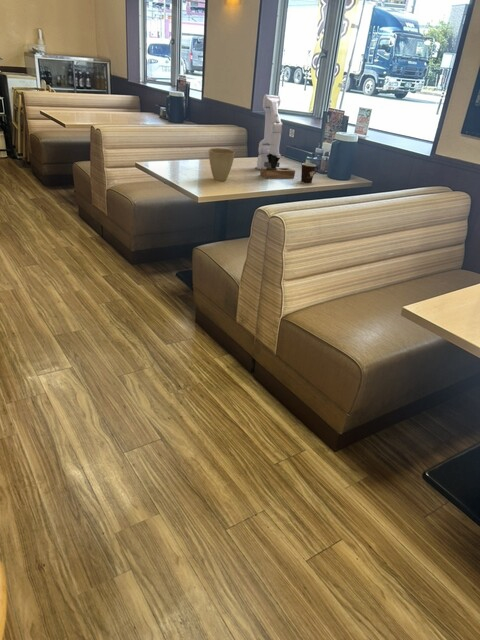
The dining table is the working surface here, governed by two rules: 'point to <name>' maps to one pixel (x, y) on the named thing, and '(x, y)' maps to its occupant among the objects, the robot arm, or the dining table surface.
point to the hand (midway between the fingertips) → (272, 167)
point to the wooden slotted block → (278, 173)
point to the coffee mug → (308, 172)
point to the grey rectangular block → (270, 165)
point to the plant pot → (221, 162)
